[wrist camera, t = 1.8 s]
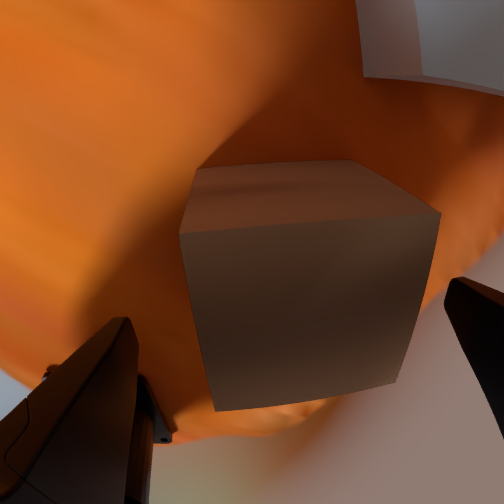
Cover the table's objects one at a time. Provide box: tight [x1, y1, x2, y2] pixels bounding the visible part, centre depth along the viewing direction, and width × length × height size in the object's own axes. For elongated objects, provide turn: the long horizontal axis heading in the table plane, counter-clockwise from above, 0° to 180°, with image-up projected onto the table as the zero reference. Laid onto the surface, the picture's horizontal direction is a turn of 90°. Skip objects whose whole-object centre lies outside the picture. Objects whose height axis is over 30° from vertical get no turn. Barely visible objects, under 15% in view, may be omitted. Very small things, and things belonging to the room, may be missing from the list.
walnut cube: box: [178, 160, 441, 412], centre depth 10 cm, size 6×6×6 cm
